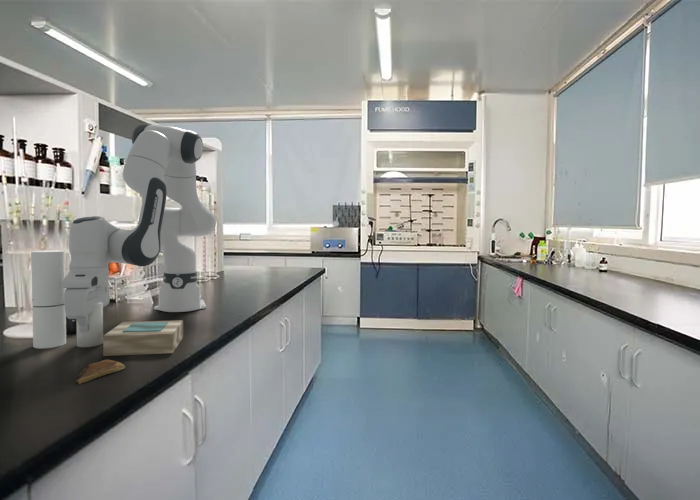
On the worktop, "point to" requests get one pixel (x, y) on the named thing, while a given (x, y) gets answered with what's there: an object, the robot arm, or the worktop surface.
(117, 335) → the birch plinth
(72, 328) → the supplement bottle
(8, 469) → the worktop surface
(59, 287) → the cylindrical container
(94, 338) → the white bottle
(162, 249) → the robot arm
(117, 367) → the shard
